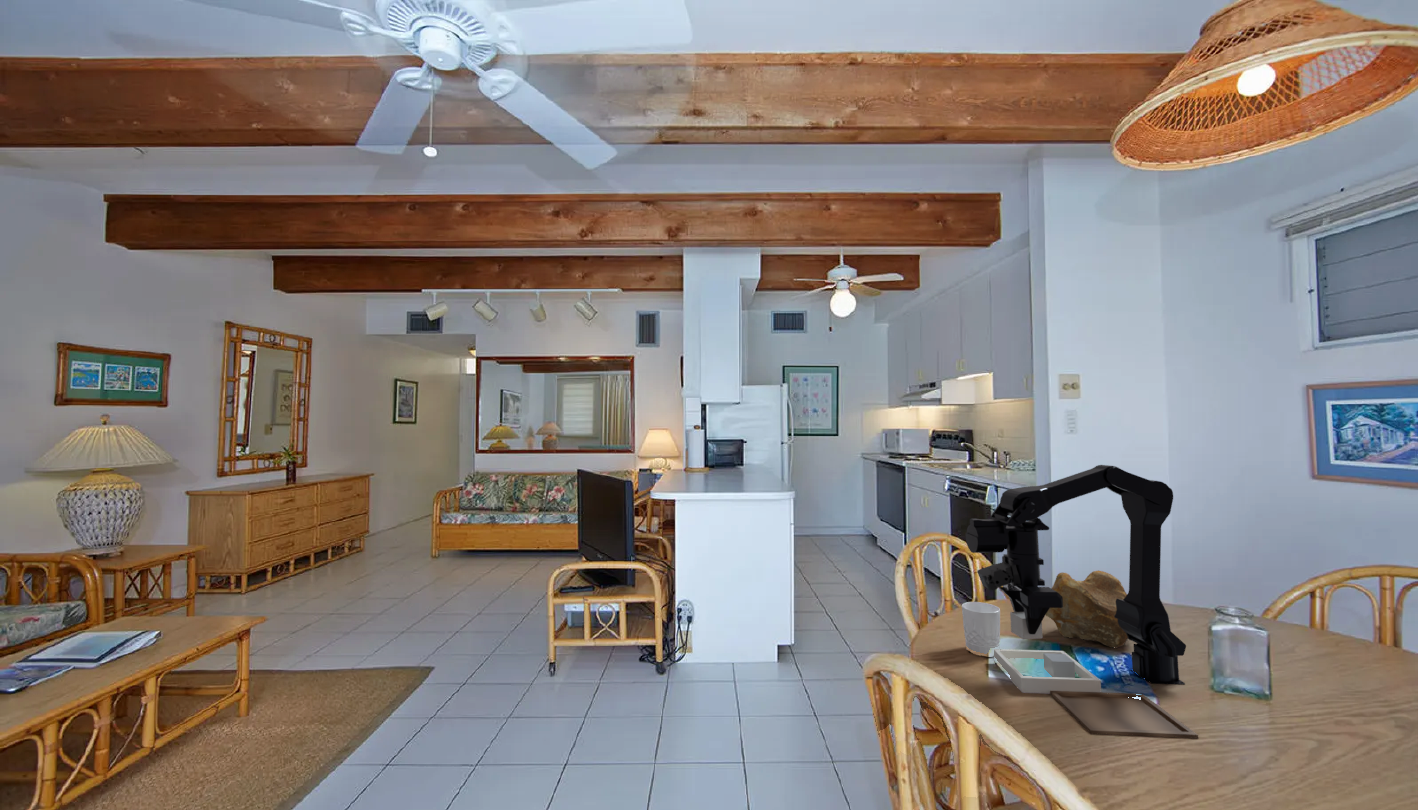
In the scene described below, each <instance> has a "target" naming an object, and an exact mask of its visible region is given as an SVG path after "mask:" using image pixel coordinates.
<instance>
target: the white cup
mask: <svg viewBox="0 0 1418 810" xmlns="http://www.w3.org/2000/svg"><path fill="white" fill-rule="evenodd" d="M961 612H962V623H963V624H962V625H963V631H964V632H963V633H964V638H965V647H966V646H967V647H968V648H969V649H971V650H973V651H976V652H980V653H984V654H987V653H988V652H989V650H990V648H995V647H998V646H999V647H1000V640H1001V637H1000V636H1001V635H1000V634H1001V609H1000V607H999V606H996V605H995V604H991V603H987V602H980V601H968V602H963V603H962V604H961Z"/></svg>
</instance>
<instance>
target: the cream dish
mask: <svg viewBox="0 0 1418 810" xmlns="http://www.w3.org/2000/svg"><path fill="white" fill-rule="evenodd" d="M1043 653H1050V654H1065V655H1066V656H1068V657H1069V658H1070V659H1071V660H1073V661H1074V663H1075V672H1076V674H1078V676H1079V677H1081V678H1065V677H1032V676H1023V675H1022V674H1021V673H1020V672H1019V671H1018V670H1017V669H1016V668H1015V667H1014V666H1013V665H1012V664H1011V663H1010V662H1009V661H1008V659H1010V658H1014V659H1015V658H1034V659H1044V655H1043ZM994 657H995V658H996V659H997V661H998V662H999V663H1000V664H1001V665H1002V667H1003V668H1004V669H1005V670H1006V671H1007V672H1008V674H1009V675H1010V678H1011V680H1012V681H1011V680H1010V681H1011V682H1012V683H1013V685H1015V687H1016V686H1017V687H1018V688H1017V687H1016V688H1017V689H1018V690H1019V691H1020V692H1021V693H1022V694H1024V693H1025V694H1049V695H1051V694H1050V691H1074V692H1102V683H1101V682H1102V680H1101V679H1100V678H1098V677H1097V676H1096V675H1095V674H1094V673H1092V672H1090V671H1089V670H1088V669H1087V668H1085V667H1084V666H1083V665H1082V664H1081V663H1079V662H1078V661H1077V660H1075V658H1073V657H1071V656H1070V655H1069V653H1066V651H1064V650H1040V649H1039V650H1038V649H1006V648H1005V649H1004V648H1003V649H1000V648H999V649H994ZM994 657H993V658H994ZM1007 658H1008V659H1007Z"/></svg>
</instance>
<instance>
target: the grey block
mask: <svg viewBox="0 0 1418 810" xmlns="http://www.w3.org/2000/svg"><path fill="white" fill-rule="evenodd" d="M1043 655H1044V669H1045V670H1046V671H1047V672H1048V673H1049V674H1050V675H1051V676H1052V677H1065V678H1075V663H1074V661H1073V660H1071V659H1070V658H1069V657H1068V656H1066V655H1065V654H1050V653H1043Z"/></svg>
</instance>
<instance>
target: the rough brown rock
mask: <svg viewBox="0 0 1418 810" xmlns="http://www.w3.org/2000/svg"><path fill="white" fill-rule="evenodd" d="M1050 588H1051V589H1053V590H1054V591H1056V592H1058V593H1059V594H1060V595H1061V596H1062V597H1063V607H1062V608H1050V609H1049V610H1048V612H1047V613H1046V615H1045V617H1047V618H1049V619H1051V620H1052V621H1053V623H1054V624H1055V625H1056V628H1057V631H1058V632H1059V633H1060V635H1061V636H1062V637H1064V636H1065V637H1064V638H1066V637H1069V638H1068V639H1073V638H1080V639H1081V640H1083V639H1084V641H1086V640H1087V641H1097V642H1099V643H1101V644H1102V645H1104V646H1107V647H1110V648H1111V647H1115V648H1114V649H1117V648H1119V647H1122V646H1124V645H1125V643H1126V641H1127V640H1129V639H1128V637H1127V635H1126V633H1125V631H1123V629H1122V628H1121V627H1120V626H1119V624H1118V619H1117V618H1115V614H1116V610H1117V609H1116V599H1122V600H1123V599H1124V598H1125V597H1126V595H1127V594H1128V593H1127V592H1126V591H1125V588H1124V586H1123V585H1122V582H1121V581H1120V580H1119V579H1118V578H1117V577H1115V576H1114V575H1113V574H1111V573H1108V572H1106V571H1103V570H1093V571H1092V572H1090V573H1088V575H1087V577H1086V578H1085V579H1084V580H1076V579H1074V578H1072V576H1071V575H1070V574H1069V573H1067V572H1059V573H1058V574H1057V575H1056V577H1055V580H1054V582H1053V585H1052V586H1051V587H1050Z"/></svg>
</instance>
